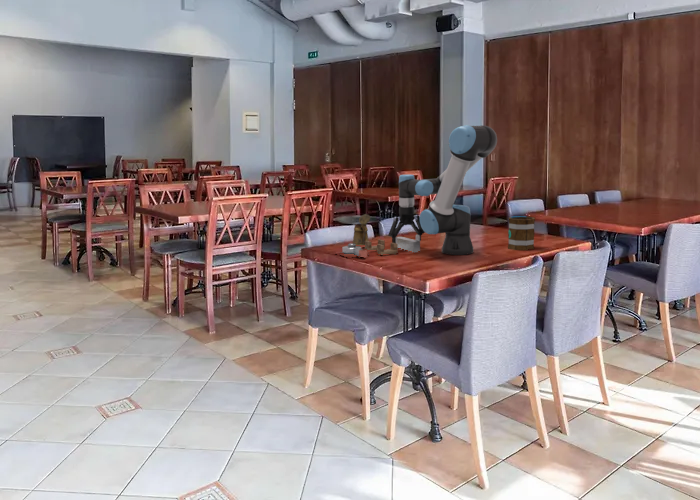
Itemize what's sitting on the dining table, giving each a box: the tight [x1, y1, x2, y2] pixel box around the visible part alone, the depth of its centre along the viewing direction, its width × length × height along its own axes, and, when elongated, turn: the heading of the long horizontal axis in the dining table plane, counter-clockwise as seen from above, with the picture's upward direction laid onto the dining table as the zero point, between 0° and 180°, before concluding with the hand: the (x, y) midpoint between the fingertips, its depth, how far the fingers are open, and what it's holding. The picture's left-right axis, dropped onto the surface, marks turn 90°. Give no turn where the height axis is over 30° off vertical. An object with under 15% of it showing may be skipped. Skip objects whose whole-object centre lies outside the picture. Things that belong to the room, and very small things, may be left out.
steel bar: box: [396, 236, 421, 253], centre depth 323 cm, size 17×4×6 cm, turn 29°
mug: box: [507, 215, 536, 251], centre depth 323 cm, size 20×14×15 cm
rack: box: [364, 239, 399, 255], centre depth 316 cm, size 16×9×5 cm, turn 28°
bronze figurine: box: [352, 213, 371, 245], centre depth 331 cm, size 9×14×18 cm, turn 17°
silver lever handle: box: [341, 242, 368, 258], centre depth 307 cm, size 17×9×5 cm, turn 28°
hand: (406, 249), depth 323 cm, fingers open, 12 cm apart
